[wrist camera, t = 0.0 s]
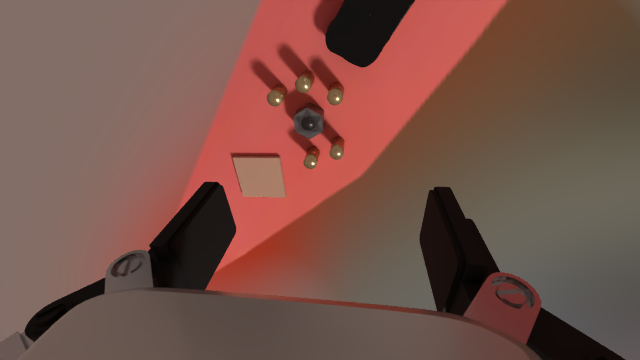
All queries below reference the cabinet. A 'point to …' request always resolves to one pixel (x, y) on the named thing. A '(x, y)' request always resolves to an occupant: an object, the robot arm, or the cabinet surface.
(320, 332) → the robot arm
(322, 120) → the steel nut
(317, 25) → the cabinet surface
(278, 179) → the tan tile
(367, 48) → the black sponge
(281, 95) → the brass standoffs
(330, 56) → the cabinet surface
